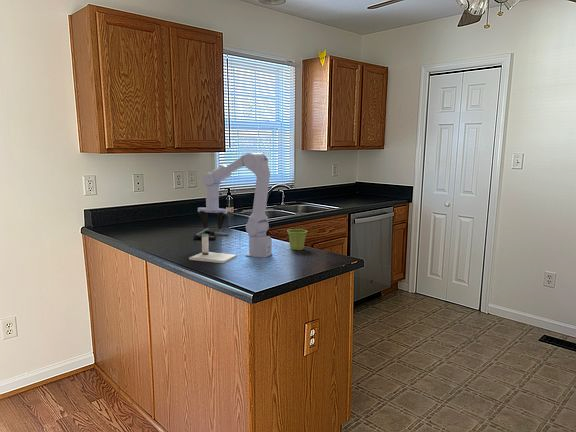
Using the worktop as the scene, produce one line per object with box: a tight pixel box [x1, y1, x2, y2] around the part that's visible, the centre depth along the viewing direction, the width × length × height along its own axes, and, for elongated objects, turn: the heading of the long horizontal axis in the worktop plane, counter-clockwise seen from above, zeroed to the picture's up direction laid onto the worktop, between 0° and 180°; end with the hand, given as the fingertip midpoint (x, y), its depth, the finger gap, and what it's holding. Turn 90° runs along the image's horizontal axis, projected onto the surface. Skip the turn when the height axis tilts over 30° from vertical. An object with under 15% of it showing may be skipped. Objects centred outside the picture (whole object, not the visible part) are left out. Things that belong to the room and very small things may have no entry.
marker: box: [201, 234, 210, 255], centre depth 183 cm, size 3×3×9 cm
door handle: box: [193, 227, 230, 241], centre depth 225 cm, size 3×20×16 cm
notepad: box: [188, 251, 238, 264], centre depth 180 cm, size 16×12×1 cm
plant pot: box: [286, 228, 308, 251], centre depth 198 cm, size 9×9×9 cm
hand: (212, 228), depth 197 cm, fingers open, 7 cm apart
